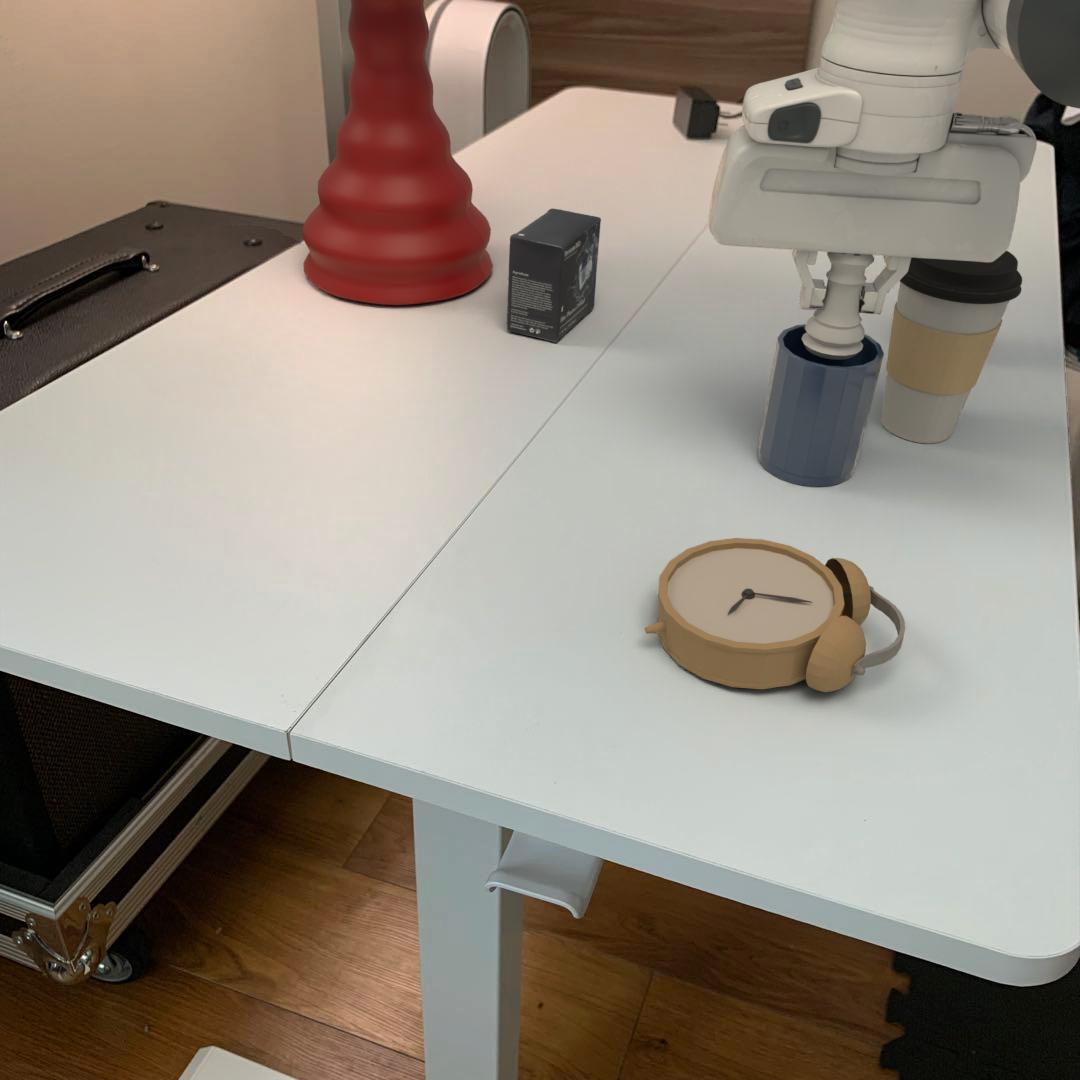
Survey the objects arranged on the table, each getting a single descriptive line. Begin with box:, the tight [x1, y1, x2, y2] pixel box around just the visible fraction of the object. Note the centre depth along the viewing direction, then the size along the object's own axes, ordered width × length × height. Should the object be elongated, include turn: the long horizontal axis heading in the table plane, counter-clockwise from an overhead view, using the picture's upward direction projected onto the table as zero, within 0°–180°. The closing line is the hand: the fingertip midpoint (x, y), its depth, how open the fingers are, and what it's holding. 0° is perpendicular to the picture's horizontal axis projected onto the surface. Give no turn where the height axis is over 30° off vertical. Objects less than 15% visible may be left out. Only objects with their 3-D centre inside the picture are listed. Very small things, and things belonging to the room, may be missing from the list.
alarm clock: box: [644, 537, 906, 693], centre depth 66 cm, size 11×5×15 cm
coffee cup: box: [880, 250, 1023, 444], centre depth 85 cm, size 9×9×15 cm
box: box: [506, 208, 602, 343], centre depth 102 cm, size 9×6×10 cm, turn 155°
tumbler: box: [757, 323, 885, 488], centre depth 82 cm, size 8×8×10 cm
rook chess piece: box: [802, 252, 875, 360], centre depth 77 cm, size 4×4×8 cm
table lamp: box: [302, 0, 494, 306], centre depth 100 cm, size 20×20×45 cm
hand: (838, 308), depth 77 cm, fingers closed on rook chess piece, 3 cm apart
